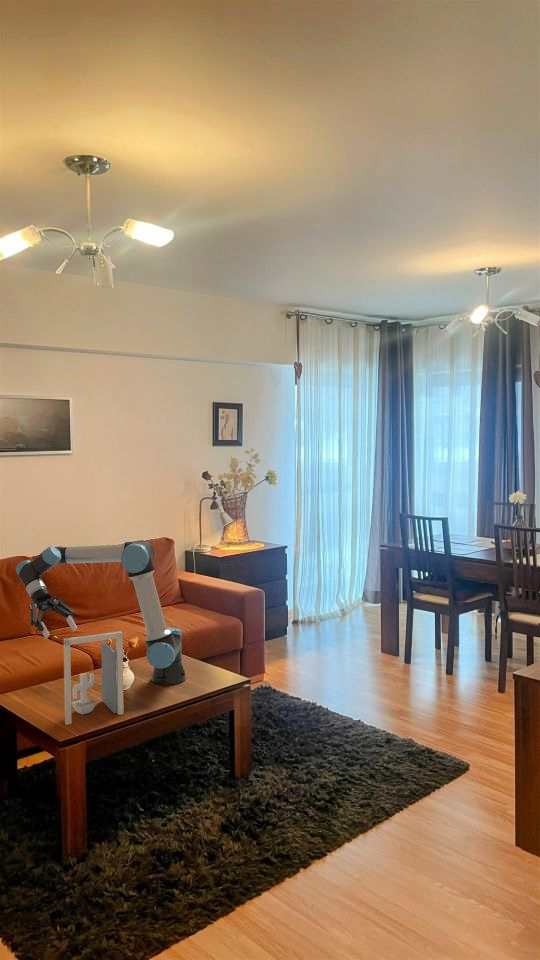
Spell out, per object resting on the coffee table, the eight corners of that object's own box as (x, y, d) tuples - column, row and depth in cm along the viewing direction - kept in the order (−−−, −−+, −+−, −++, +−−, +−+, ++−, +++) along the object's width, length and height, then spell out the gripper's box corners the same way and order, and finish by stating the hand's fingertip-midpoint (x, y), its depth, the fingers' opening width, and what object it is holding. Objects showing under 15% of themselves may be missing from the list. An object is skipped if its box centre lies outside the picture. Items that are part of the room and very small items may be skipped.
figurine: (68, 712, 271) (67, 674, 270) (89, 706, 278) (88, 669, 277) (78, 717, 266) (78, 678, 266) (99, 710, 273) (99, 672, 273)
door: (120, 711, 270) (119, 651, 269) (113, 713, 269) (112, 652, 268) (108, 699, 284) (107, 641, 284) (102, 700, 283) (101, 642, 282)
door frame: (122, 712, 271) (120, 631, 270) (123, 713, 269) (122, 632, 268) (64, 723, 260) (63, 638, 259) (66, 724, 259) (64, 640, 257)
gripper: (59, 593, 304) (82, 632, 296) (8, 603, 284) (31, 645, 276) (66, 582, 301) (90, 621, 293) (16, 592, 281) (39, 634, 273)
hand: (61, 633), depth 284 cm, fingers open, 13 cm apart
